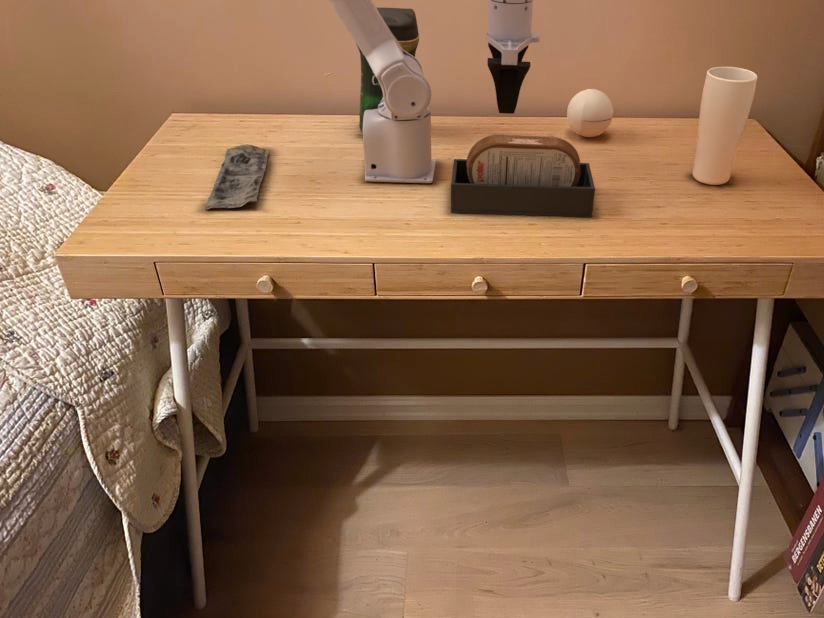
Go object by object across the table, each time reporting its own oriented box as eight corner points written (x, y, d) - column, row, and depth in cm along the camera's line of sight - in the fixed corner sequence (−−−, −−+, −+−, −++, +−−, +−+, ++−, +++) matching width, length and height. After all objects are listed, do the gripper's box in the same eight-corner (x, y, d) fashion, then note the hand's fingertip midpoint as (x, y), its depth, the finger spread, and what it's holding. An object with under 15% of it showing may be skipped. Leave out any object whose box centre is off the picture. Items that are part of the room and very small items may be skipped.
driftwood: (228, 150, 119) (226, 137, 118) (274, 150, 120) (273, 136, 118) (204, 213, 103) (201, 198, 101) (257, 211, 103) (255, 196, 102)
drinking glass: (738, 175, 116) (762, 70, 107) (729, 192, 111) (754, 84, 102) (692, 166, 118) (712, 63, 110) (681, 182, 113) (701, 76, 105)
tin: (576, 195, 108) (583, 135, 103) (578, 205, 105) (585, 144, 100) (466, 191, 108) (467, 131, 103) (465, 201, 105) (466, 140, 100)
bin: (450, 213, 104) (450, 184, 101) (453, 186, 111) (453, 158, 108) (591, 217, 104) (595, 188, 101) (586, 190, 111) (589, 162, 108)
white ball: (568, 144, 124) (572, 97, 120) (562, 127, 130) (566, 82, 126) (631, 144, 125) (637, 98, 121) (622, 128, 131) (628, 83, 127)
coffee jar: (358, 140, 123) (350, 14, 112) (362, 123, 130) (354, 1, 119) (420, 141, 124) (418, 15, 113) (421, 123, 130) (418, 2, 119)
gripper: (544, 13, 97) (536, 122, 105) (539, -12, 109) (533, 88, 117) (486, 11, 97) (483, 120, 105) (488, -14, 109) (485, 86, 117)
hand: (506, 103), depth 111 cm, fingers open, 7 cm apart
